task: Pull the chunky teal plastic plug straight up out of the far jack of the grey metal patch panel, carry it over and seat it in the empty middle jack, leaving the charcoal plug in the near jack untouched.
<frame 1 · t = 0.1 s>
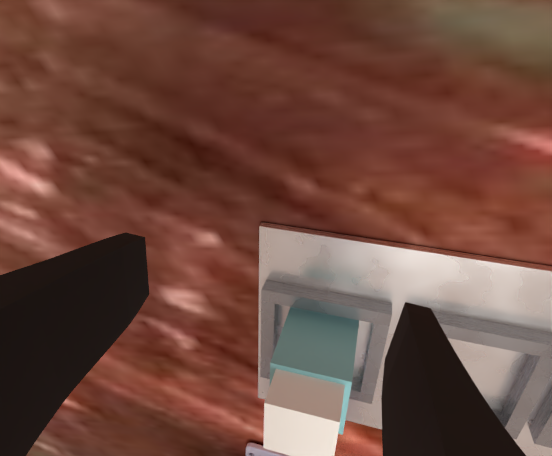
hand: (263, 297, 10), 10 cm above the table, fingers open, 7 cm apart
patch panel: (461, 360, 22), on the table
plug: (321, 337, 23), resting on patch panel
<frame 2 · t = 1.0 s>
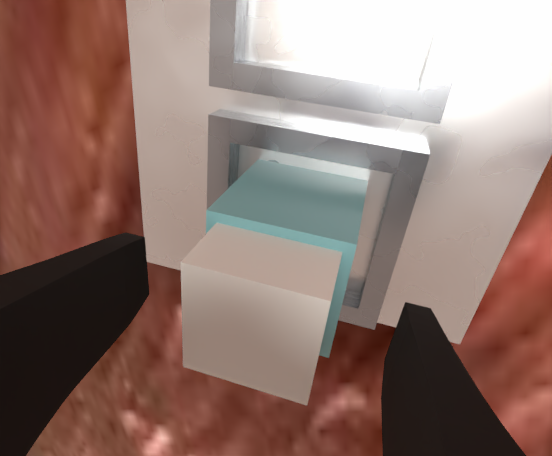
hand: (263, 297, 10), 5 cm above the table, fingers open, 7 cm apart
plug: (303, 218, 15), resting on patch panel
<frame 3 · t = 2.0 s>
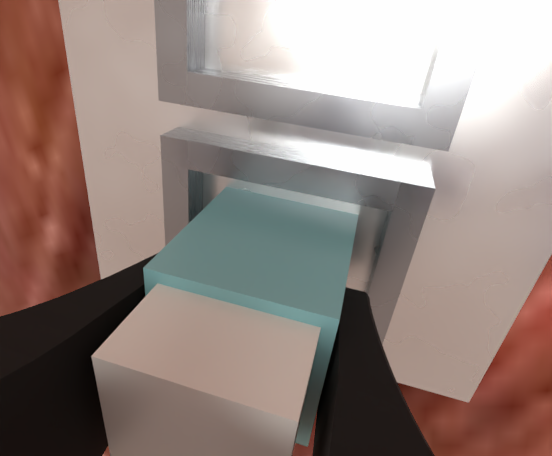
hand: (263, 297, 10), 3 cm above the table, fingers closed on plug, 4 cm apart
plug: (282, 256, 12), resting on patch panel, touching gripper
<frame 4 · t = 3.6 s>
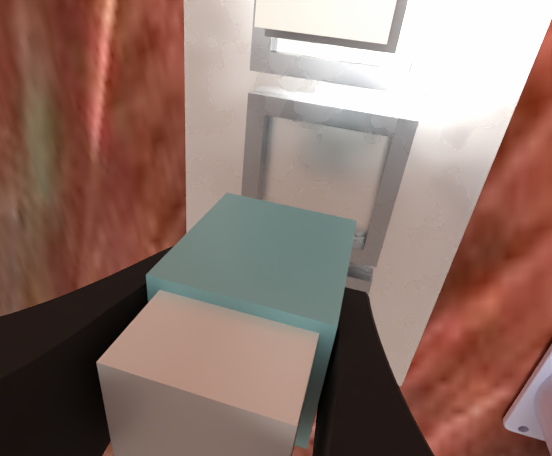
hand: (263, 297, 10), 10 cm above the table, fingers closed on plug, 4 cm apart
patch panel: (321, 174, 19), on the table
plug: (282, 261, 12), point 8 cm above the table, touching gripper
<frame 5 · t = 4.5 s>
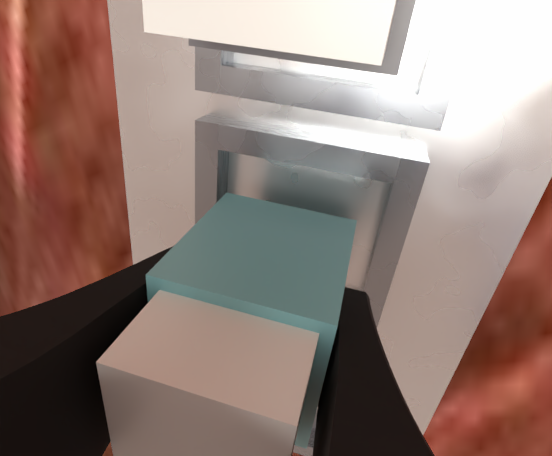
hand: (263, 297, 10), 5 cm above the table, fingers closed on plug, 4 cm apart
patch panel: (300, 222, 14), on the table
plug: (282, 261, 12), point 2 cm above the table, touching gripper
when the fingers open (3 cm above the table, at t = 5.2 s): plug stays where it is, resting on patch panel.
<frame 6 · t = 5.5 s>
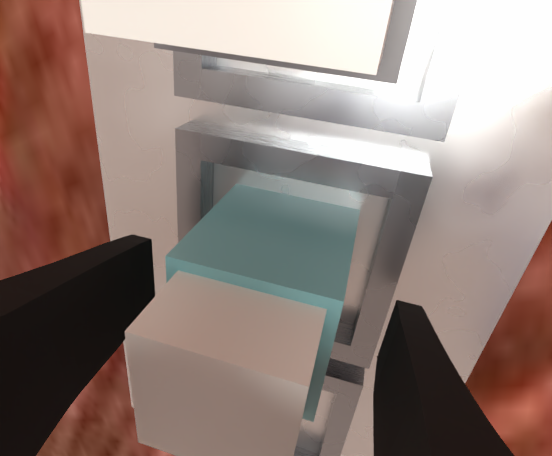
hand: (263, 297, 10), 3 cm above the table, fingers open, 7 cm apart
patch panel: (291, 237, 13), on the table
plug: (288, 249, 13), resting on patch panel
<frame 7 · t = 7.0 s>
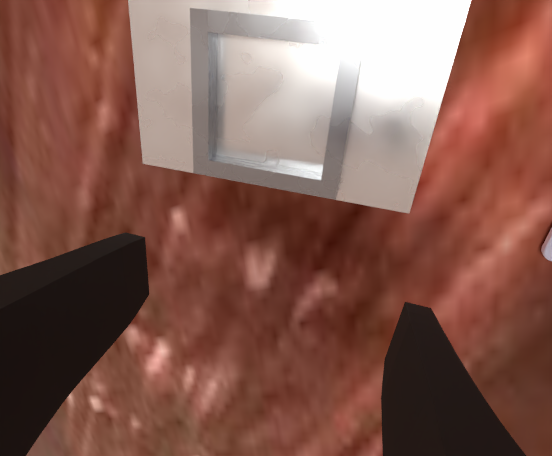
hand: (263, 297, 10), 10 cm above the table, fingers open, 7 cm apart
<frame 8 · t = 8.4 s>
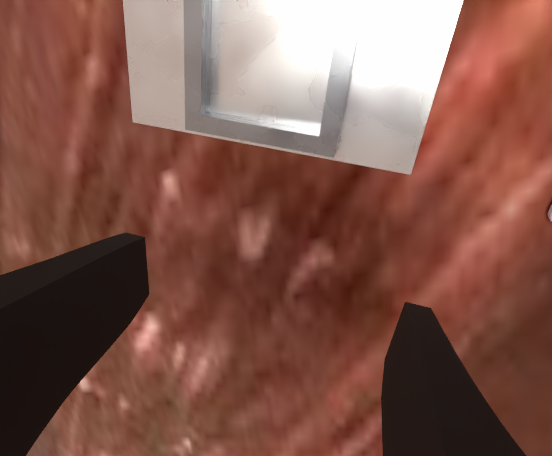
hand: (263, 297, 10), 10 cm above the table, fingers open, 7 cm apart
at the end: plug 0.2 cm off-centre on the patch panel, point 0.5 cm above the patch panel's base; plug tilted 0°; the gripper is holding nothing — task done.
